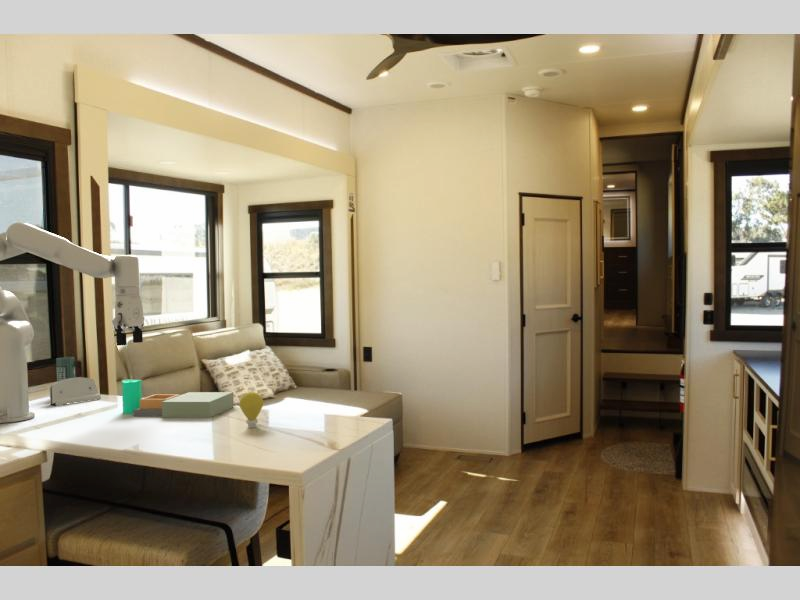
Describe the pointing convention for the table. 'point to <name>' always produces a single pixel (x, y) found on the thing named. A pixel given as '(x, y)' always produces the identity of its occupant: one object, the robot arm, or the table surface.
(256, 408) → the light bulb
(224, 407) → the desk organizer
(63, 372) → the can
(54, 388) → the hinge
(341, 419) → the table surface
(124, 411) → the candle
